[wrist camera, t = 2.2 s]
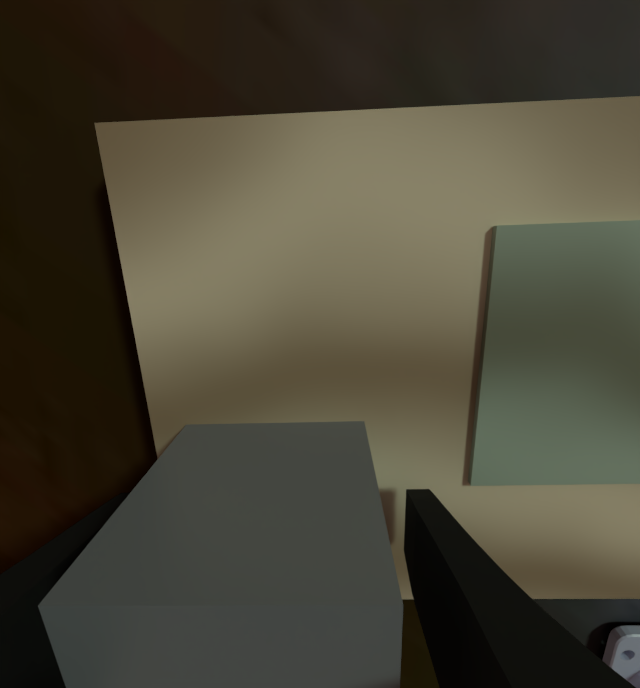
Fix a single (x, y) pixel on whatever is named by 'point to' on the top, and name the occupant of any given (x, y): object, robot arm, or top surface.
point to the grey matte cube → (238, 569)
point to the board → (409, 307)
